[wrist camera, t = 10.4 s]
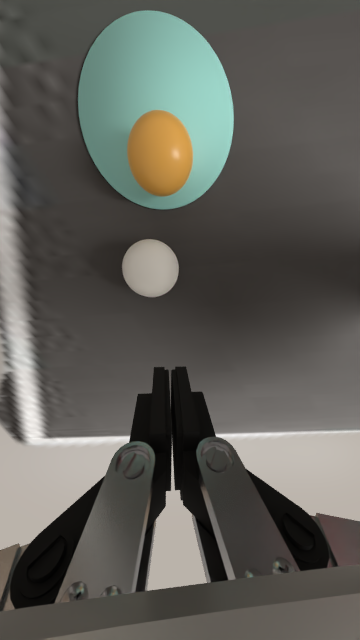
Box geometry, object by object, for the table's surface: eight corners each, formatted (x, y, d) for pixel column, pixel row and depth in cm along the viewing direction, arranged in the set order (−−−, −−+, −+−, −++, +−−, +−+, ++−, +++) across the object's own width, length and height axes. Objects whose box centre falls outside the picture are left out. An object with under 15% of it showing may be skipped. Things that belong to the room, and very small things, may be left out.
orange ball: (202, 199, 17) (211, 114, 14) (147, 191, 14) (146, 81, 11) (168, 199, 21) (170, 131, 18) (119, 193, 18) (113, 111, 15)
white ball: (191, 267, 16) (185, 244, 20) (127, 240, 14) (134, 222, 19) (167, 314, 19) (165, 286, 23) (111, 297, 17) (120, 270, 22)
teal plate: (253, 165, 19) (254, 164, 19) (135, 235, 20) (135, 235, 20) (191, -28, 15) (192, -32, 15) (42, 72, 16) (41, 69, 16)
